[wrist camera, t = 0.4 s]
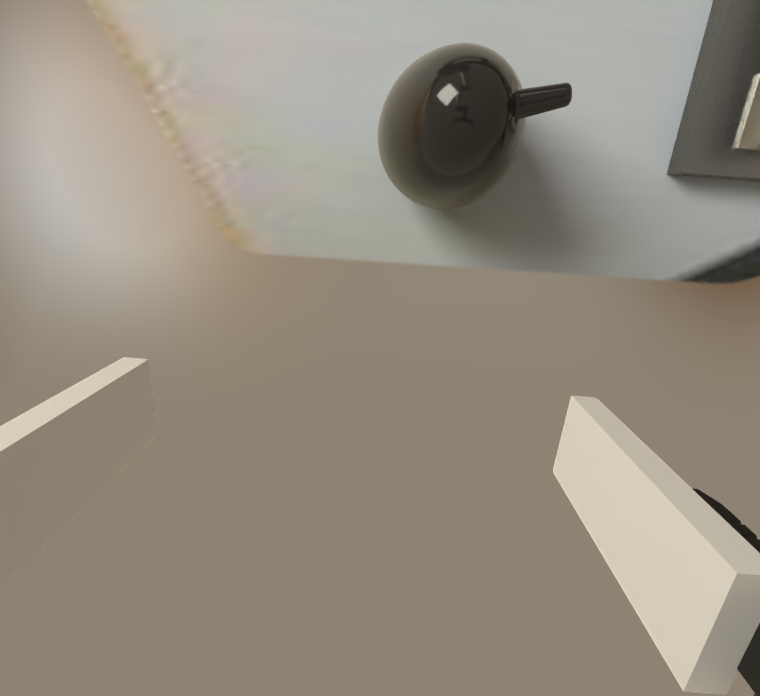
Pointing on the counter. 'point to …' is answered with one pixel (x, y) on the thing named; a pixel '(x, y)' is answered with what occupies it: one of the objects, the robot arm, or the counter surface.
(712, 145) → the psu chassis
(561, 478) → the robot arm
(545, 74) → the counter surface
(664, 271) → the counter surface
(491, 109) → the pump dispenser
